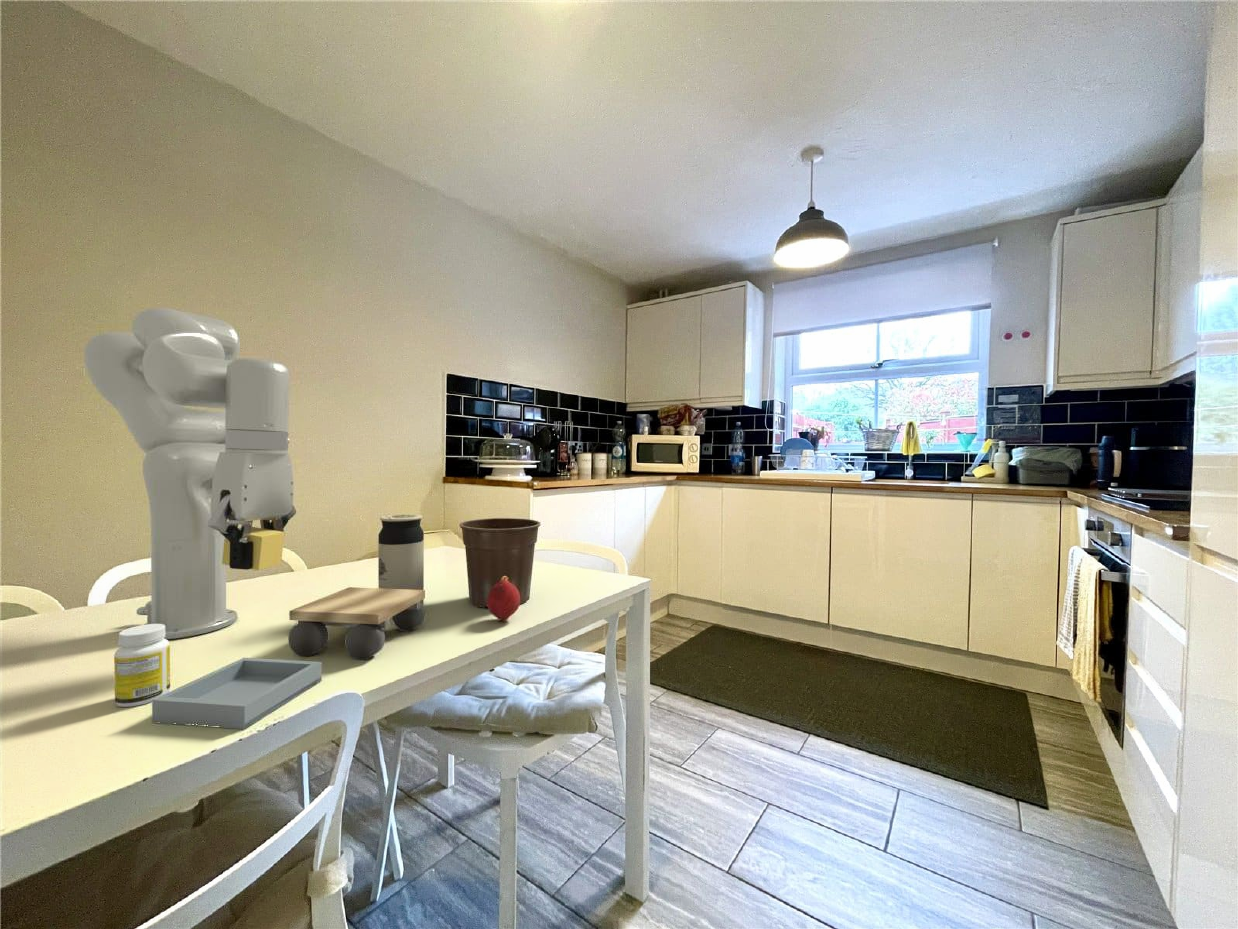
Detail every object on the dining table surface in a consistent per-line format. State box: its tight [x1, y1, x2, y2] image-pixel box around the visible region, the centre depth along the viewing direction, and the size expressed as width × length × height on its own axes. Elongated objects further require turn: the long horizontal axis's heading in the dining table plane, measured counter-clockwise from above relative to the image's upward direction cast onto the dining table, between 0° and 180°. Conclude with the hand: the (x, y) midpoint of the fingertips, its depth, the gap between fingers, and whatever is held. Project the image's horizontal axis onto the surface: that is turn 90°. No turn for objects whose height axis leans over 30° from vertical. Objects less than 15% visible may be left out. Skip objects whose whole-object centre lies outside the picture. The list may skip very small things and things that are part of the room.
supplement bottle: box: [113, 624, 171, 708], centre depth 57 cm, size 5×5×8 cm
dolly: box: [288, 586, 427, 661], centre depth 75 cm, size 14×13×7 cm
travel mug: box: [377, 513, 425, 606], centre depth 92 cm, size 8×8×18 cm
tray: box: [151, 657, 322, 730], centre depth 57 cm, size 11×11×2 cm
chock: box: [222, 526, 286, 571], centre depth 71 cm, size 6×4×5 cm, turn 84°
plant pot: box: [459, 517, 542, 609], centre depth 98 cm, size 16×16×16 cm
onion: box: [486, 576, 521, 622], centre depth 85 cm, size 6×6×8 cm
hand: (255, 563), depth 71 cm, fingers closed on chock, 4 cm apart
